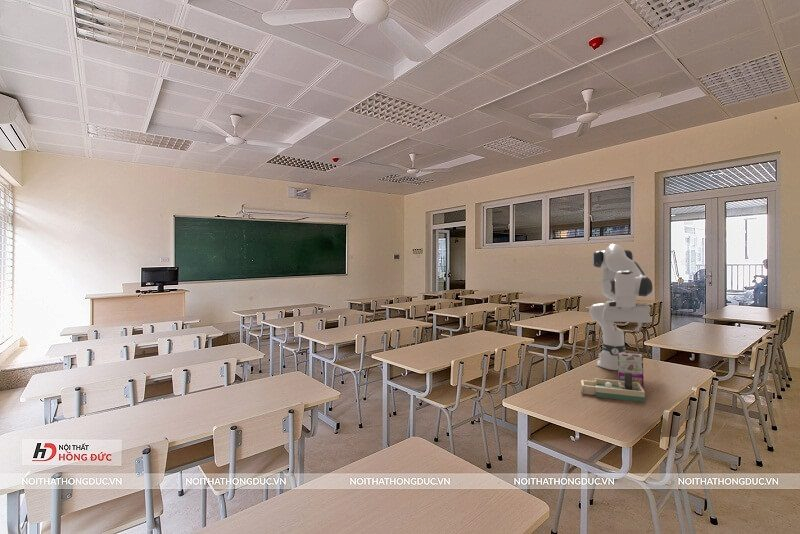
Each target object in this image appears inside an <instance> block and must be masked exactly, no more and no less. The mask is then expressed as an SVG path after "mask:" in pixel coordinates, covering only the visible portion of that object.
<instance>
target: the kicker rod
mask: <svg viewBox="0 0 800 534" xmlns="http://www.w3.org/2000/svg"><path fill="white" fill-rule="evenodd" d="M624 379H625V386H622V384H621V383H619V382H618V388H619V389H626V390H632V373H624Z"/></svg>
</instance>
